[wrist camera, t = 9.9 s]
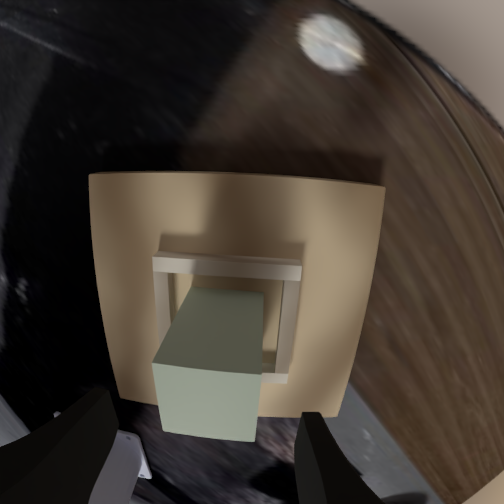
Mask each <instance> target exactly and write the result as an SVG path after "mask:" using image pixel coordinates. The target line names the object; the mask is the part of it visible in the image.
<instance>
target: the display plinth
mask: <svg viewBox="0 0 504 504" xmlns="http://www.w3.org/2000/svg"><path fill="white" fill-rule="evenodd" d="M385 188H386V187H384V186H381V185H377V184H371V183H363V182H354V181H345V180H335V179H325V178H313V177H301V176H288V175H273V174H256V173H235V172H205V171H122V172H99V173H94V174H89V199H90V218H91V232H92V244H93V254H94V263H95V272H96V280H97V287H98V294H99V300H100V307H101V313H102V318H103V324H104V329H105V335H106V340H107V345H108V349H109V354H110V358H111V363H112V367H113V371H114V375H115V379H116V383H117V387H118V391H119V395H120V398H123V399H128V400H133V401H138V402H143V403H149V404H154V405H158V400H157V394H156V388H155V382H154V375H153V368H152V361H153V359H154V357H155V355H156V353H157V351H158V349H159V347H160V345H161V343H162V341H163V339H164V337H165V335H166V333H167V331H168V330H169V328H170V326H171V324H172V322H173V320H174V318H175V316H176V314H177V312H178V310H179V308H180V306H181V305H182V303H183V301H184V299H185V297H186V295H187V293H188V291H189V289H190V287H203V288H215V289H227V290H240V291H254V292H264V302H263V350H262V378H261V388H260V397H259V406H258V415H257V416H264V417H301V414H302V412H320V413H321V414H322V417H337V415H338V412H339V409H340V406H341V403H342V399H343V396H344V393H345V389H346V386H347V383H348V379H349V376H350V372H351V368H352V365H353V361H354V357H355V353H356V349H357V346H358V342H359V337H360V333H361V329H362V325H363V320H364V316H365V311H366V307H367V302H368V297H369V292H370V287H371V282H372V277H373V271H374V266H375V260H376V254H377V248H378V242H379V235H380V228H381V221H382V214H383V206H384V197H385Z"/></svg>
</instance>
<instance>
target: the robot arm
mask: <svg viewBox="0 0 504 504" xmlns="http://www.w3.org/2000/svg"><path fill="white" fill-rule="evenodd" d="M54 417H55V418H54V419H52V420H51V421H49V422H48V423H46V424H45V425H43V426H41V427H40V428H38V429H37V430H35V431H33V432H32V433H30V434H28V435H26V436H24V437H22V438H20V439H18V440H16V441H14V442H11V443H9V444H6V445H4V446H1V447H0V504H129V501H130V498H131V495H132V492H133V489H134V486H135V483H136V480H137V478H138V477H142V478H147V479H151V478H152V474H151V471H150V468H149V465H148V462H147V459H146V456H145V453H144V450H143V447H142V444H141V441H140V438H139V436H138V435H136V434H134V433H130V432H126V431H121V430H118V428H119V422H118V419H117V416H116V412H115V409H114V406H113V403H112V399H111V396H110V392H109V390H106V389H102V388H98V387H95V388H93V389H92V390H91V391H89V392H88V393H87V394H85V395H84V396H83V397H82V398H80V399H79V400H78V401H76V402H75V403H74V404H73V405H71V406H70V407H69V408H67V409H66V410H65V411H63V412H62V413H60V412H55V413H54ZM294 459H295V475H296V482H297V489H298V496H299V504H385V503H384V502H383V501H382V500H381V499H380V498H379V497H378V496H377V495H376V494H375V493H374V492H373V491H372V490H371V489H370V488H369V487H368V486H367V484H366V483H365V482H364V481H363V480H362V479H361V477H360V476H359V475H358V474H357V472H356V471H355V470H354V468H353V467H352V466H351V464H350V463H349V461H348V460H347V458H346V457H345V455H344V454H343V452H342V451H341V449H340V448H339V446H338V444H337V443H336V441H335V439H334V438H333V436H332V434H331V432H330V431H329V429H328V427H327V425H326V423H325V421H324V419H323V417H322V414H321V413H320V412H302V414H301V419H300V423H299V428H298V432H297V436H296V440H295V444H294Z"/></svg>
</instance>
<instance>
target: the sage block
mask: <svg viewBox="0 0 504 504" xmlns="http://www.w3.org/2000/svg"><path fill="white" fill-rule="evenodd" d="M263 302H264V292H254V291H240V290H227V289H215V288H203V287H190V289H189V291H188V293H187V295H186V297H185V299H184V301H183V303H182V305H181V306H180V308H179V310H178V312H177V314H176V316H175V318H174V320H173V322H172V324H171V326H170V328H169V330H168V331H167V333H166V335H165V337H164V339H163V341H162V343H161V345H160V347H159V349H158V351H157V353H156V355H155V357H154V359H153V361H152V368H153V375H154V382H155V388H156V394H157V400H158V406H159V412H160V417H161V422H162V427H163V431H167V432H173V433H179V434H185V435H192V436H199V437H207V438H215V439H225V440H236V441H249V442H255V433H256V424H257V415H258V406H259V397H260V388H261V378H262V350H263Z"/></svg>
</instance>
